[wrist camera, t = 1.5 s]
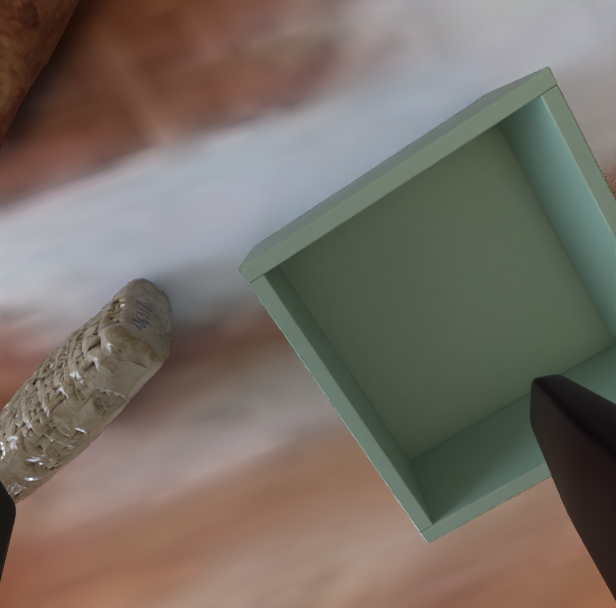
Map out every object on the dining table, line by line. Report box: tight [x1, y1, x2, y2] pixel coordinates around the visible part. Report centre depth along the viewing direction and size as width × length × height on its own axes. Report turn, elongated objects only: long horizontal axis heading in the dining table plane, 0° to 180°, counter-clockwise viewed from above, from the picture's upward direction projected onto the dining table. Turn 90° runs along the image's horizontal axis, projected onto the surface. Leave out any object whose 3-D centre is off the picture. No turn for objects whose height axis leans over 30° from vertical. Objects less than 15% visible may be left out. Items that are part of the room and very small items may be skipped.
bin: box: [239, 67, 616, 543], centre depth 21 cm, size 12×11×5 cm
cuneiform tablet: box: [0, 278, 171, 504], centre depth 21 cm, size 7×4×12 cm
